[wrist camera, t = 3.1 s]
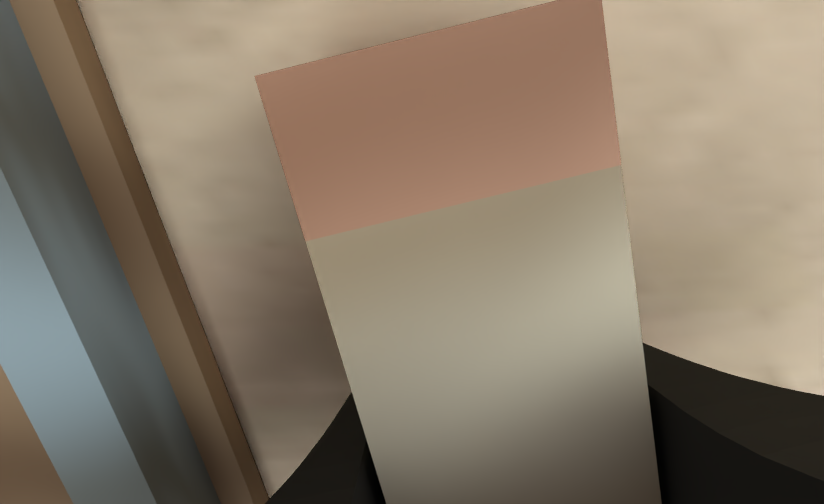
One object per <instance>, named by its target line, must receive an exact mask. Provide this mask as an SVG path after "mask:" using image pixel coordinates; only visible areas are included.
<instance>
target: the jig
mask: <svg viewBox="0 0 824 504" xmlns="http://www.w3.org/2000/svg"><path fill="white" fill-rule="evenodd" d="M268 500H269V498H268V496H267V493H266V490H265V488H264V485H263V483H262V480H261V477H260V475H259V472H258V470H257V467H256V465H255V462H254V459H253V457H252V454H251V452H250V449H249V446H248V444H247V441H246V439H245V436H244V434H243V431H242V428H241V426H240V423H239V421H238V418H237V415H236V413H235V410H234V408H233V405H232V403H231V400H230V397H229V395H228V392H227V390H226V387H225V384H224V382H223V379H222V377H221V374H220V371H219V369H218V366H217V364H216V361H215V359H214V356H213V353H212V351H211V348H210V346H209V343H208V340H207V338H206V335H205V333H204V330H203V328H202V325H201V322H200V320H199V317H198V315H197V312H196V309H195V307H194V304H193V302H192V299H191V297H190V294H189V291H188V289H187V286H186V284H185V281H184V278H183V276H182V273H181V271H180V268H179V265H178V263H177V260H176V258H175V255H174V253H173V250H172V247H171V245H170V242H169V240H168V237H167V234H166V232H165V229H164V227H163V224H162V222H161V219H160V216H159V214H158V211H157V209H156V206H155V203H154V201H153V198H152V196H151V193H150V191H149V188H148V185H147V183H146V180H145V178H144V175H143V172H142V170H141V167H140V165H139V162H138V160H137V157H136V154H135V152H134V149H133V147H132V144H131V141H130V139H129V136H128V134H127V131H126V128H125V126H124V123H123V121H122V118H121V116H120V113H119V110H118V108H117V105H116V103H115V100H114V97H113V95H112V92H111V90H110V87H109V85H108V82H107V79H106V77H105V74H104V72H103V69H102V66H101V64H100V61H99V59H98V56H97V54H96V51H95V48H94V46H93V43H92V41H91V38H90V35H89V33H88V30H87V28H86V25H85V23H84V20H83V17H82V15H81V12H80V10H79V7H78V4H77V2H76V0H0V504H265V503H266V502H267V501H268Z"/></svg>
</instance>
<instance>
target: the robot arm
mask: <svg viewBox="0 0 824 504" xmlns="http://www.w3.org/2000/svg"><path fill="white" fill-rule="evenodd" d="M643 351H644V360H645V368H646V376H647V385H648V393H649V401H650V410H651V418H652V427H653V435H654V443H655V452H656V460H657V469H658V477H659V485H660V494H661V502H662V504H824V396H822V395H816V394H811V393H805V392H800V391H795V390H791V389H786V388H781V387H777V386H773V385H769V384H765V383H761V382H757V381H753V380H749V379H746V378H742V377H738V376H735V375H731V374H728V373H724V372H721V371H718V370H715V369H712V368H709V367H706V366H703V365H700V364H697V363H694V362H691V361H688V360H686V359H683V358H680V357H677V356H675V355H672V354H669V353H667V352H664V351H662V350H659V349H657V348H654V347H652V346H649V345H647V344H644V343H643ZM265 504H386V501H385V498H384V495H383V492H382V488H381V485H380V482H379V479H378V475H377V472H376V469H375V466H374V462H373V459H372V456H371V453H370V449H369V446H368V443H367V440H366V436H365V433H364V430H363V427H362V423H361V420H360V417H359V414H358V411H357V407H356V404H355V401H354V398H353V394H352V392H351V394H350V395H349V397H348V398H347V400H346V402H345V403H344V405H343V406H342V408H341V409H340V411H339V412H338V414H337V416H336V417H335V419H334V420H333V422H332V423H331V424H330V426H329V427H328V429H327V430H326V432H325V433H324V435H323V436H322V437H321V439H320V440H319V441H318V443H317V444H316V445H315V446H314V448H313V449H312V450H311V452H310V453H309V454H308V456H307V457H306V458H305V459H304V461H303V462H302V463H301V465H300V466H299V467H298V468H297V469H296V471H295V472H294V473H293V474H292V475H291V476H290V477H289V479H288V480H287V481H286V482H285V483H284V484H283V485H282V486H281V487H280V488H279V489H278V490H277V492H276V493H275V494H274V495H273V496H272V497H271V498H270V499H269V500H268V501H267V502H266V503H265Z"/></svg>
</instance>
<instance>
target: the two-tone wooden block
mask: <svg viewBox="0 0 824 504" xmlns="http://www.w3.org/2000/svg"><path fill="white" fill-rule="evenodd" d="M255 79H256V83H257V86H258V89H259V92H260V96H261V99H262V102H263V105H264V109H265V112H266V115H267V118H268V122H269V125H270V128H271V131H272V135H273V138H274V141H275V144H276V148H277V151H278V154H279V157H280V161H281V164H282V167H283V170H284V174H285V177H286V180H287V183H288V187H289V190H290V193H291V196H292V200H293V203H294V206H295V209H296V213H297V216H298V219H299V222H300V225H301V229H302V232H303V235H304V238H305V242H306V245H307V248H308V251H309V255H310V258H311V261H312V264H313V268H314V271H315V274H316V277H317V281H318V284H319V287H320V290H321V294H322V297H323V300H324V303H325V307H326V310H327V313H328V316H329V320H330V323H331V326H332V329H333V333H334V336H335V339H336V342H337V346H338V349H339V352H340V355H341V359H342V362H343V365H344V368H345V372H346V375H347V378H348V381H349V385H350V388H351V391H352V394H353V398H354V401H355V404H356V407H357V411H358V414H359V417H360V420H361V423H362V427H363V430H364V433H365V436H366V440H367V443H368V446H369V449H370V453H371V456H372V459H373V462H374V466H375V469H376V472H377V475H378V479H379V482H380V485H381V488H382V492H383V495H384V498H385V501H386V504H662V502H661V494H660V485H659V477H658V469H657V460H656V452H655V443H654V435H653V427H652V418H651V410H650V401H649V393H648V385H647V376H646V368H645V360H644V351H643V343H642V334H641V326H640V318H639V309H638V301H637V292H636V284H635V276H634V267H633V259H632V251H631V242H630V234H629V225H628V217H627V209H626V200H625V192H624V184H623V175H622V167H621V158H620V150H619V142H618V133H617V125H616V116H615V108H614V100H613V91H612V83H611V75H610V66H609V58H608V49H607V41H606V33H605V24H604V16H603V8H602V0H557V1H553V2H549V3H545V4H541V5H537V6H533V7H529V8H525V9H521V10H517V11H513V12H509V13H505V14H501V15H497V16H493V17H489V18H485V19H481V20H477V21H473V22H469V23H465V24H461V25H457V26H453V27H449V28H445V29H441V30H437V31H433V32H429V33H425V34H421V35H417V36H413V37H409V38H405V39H401V40H397V41H393V42H389V43H385V44H381V45H377V46H373V47H369V48H365V49H361V50H357V51H353V52H349V53H345V54H341V55H337V56H333V57H329V58H325V59H321V60H317V61H313V62H309V63H305V64H301V65H297V66H293V67H289V68H285V69H281V70H277V71H273V72H269V73H265V74H261V75H257V76H255Z"/></svg>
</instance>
